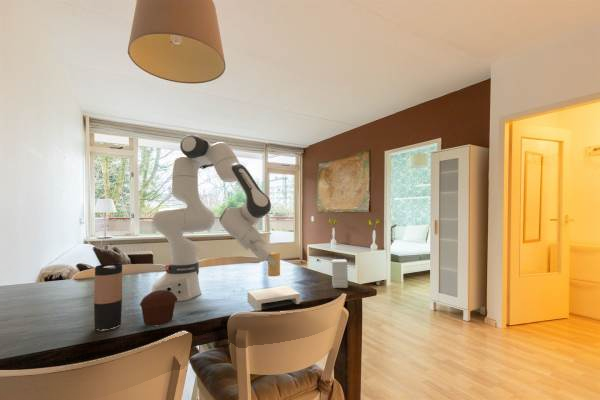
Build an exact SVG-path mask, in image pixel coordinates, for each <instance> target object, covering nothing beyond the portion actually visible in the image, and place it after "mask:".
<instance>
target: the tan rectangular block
mask: <svg viewBox="0 0 600 400" xmlns="http://www.w3.org/2000/svg"><path fill="white" fill-rule="evenodd" d="M269 256H270V257H271V258H272V259H273V260H274V261H276V264H275V265H274V266H273V265H271V264H270V263H269V262H267V277H279V276H281V252H278V251H277V252H272V251H270V253H269Z"/></svg>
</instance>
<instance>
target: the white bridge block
mask: <svg viewBox="0 0 600 400" xmlns="http://www.w3.org/2000/svg"><path fill="white" fill-rule="evenodd" d="M286 300H290V301H291V302H293V303H294V304H296V305H300V304H301V293H300V292H298V291H296V290H295V289H293V288H292V287H290V286H288V285H283V286H277V287H269V288H261V289H256V290H254V289H253V290H247V302H248V304H250V305H251V306H252V307H253V308H254V309H255V311H256V312H257V311H258V312H259V311H262V304H266V303H272V302H279V301H280V302H281V301H286Z"/></svg>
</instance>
